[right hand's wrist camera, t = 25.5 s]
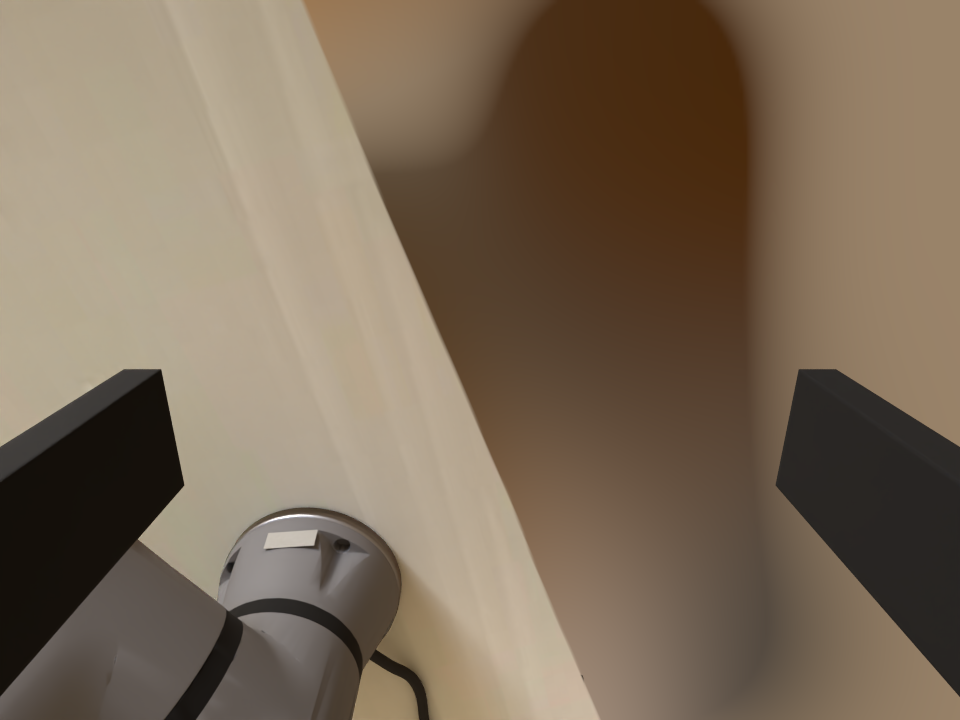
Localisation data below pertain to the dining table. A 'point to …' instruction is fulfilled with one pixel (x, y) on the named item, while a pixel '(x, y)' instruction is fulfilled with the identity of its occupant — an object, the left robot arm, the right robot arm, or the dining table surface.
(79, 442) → the right robot arm
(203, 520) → the dining table surface
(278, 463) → the dining table surface
